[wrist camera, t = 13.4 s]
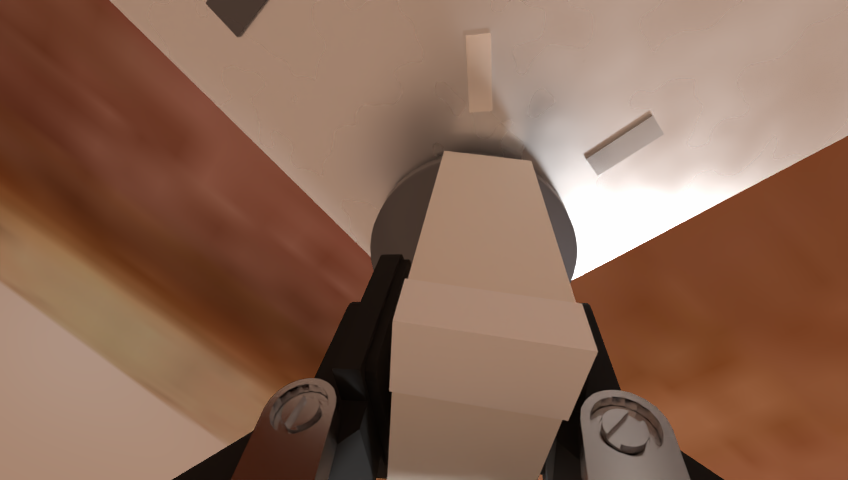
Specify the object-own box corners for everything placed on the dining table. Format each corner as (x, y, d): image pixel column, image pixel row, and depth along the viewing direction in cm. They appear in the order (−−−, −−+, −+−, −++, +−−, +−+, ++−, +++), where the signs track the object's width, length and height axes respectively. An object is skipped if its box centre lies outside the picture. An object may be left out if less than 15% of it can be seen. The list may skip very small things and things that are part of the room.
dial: (543, 336, 14) (594, 611, 7) (374, 310, 14) (288, 550, 8) (602, 155, 10) (784, 380, 4) (378, 129, 11) (231, 296, 5)
